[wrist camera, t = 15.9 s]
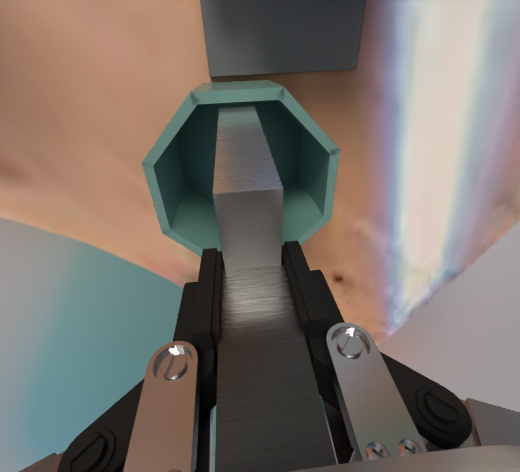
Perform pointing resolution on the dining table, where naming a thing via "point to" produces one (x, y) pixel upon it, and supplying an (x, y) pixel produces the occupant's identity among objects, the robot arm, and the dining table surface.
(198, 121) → the utensil pot
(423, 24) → the dining table surface
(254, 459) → the brushed metal bar
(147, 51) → the dining table surface
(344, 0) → the rubber mat
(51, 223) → the dining table surface
